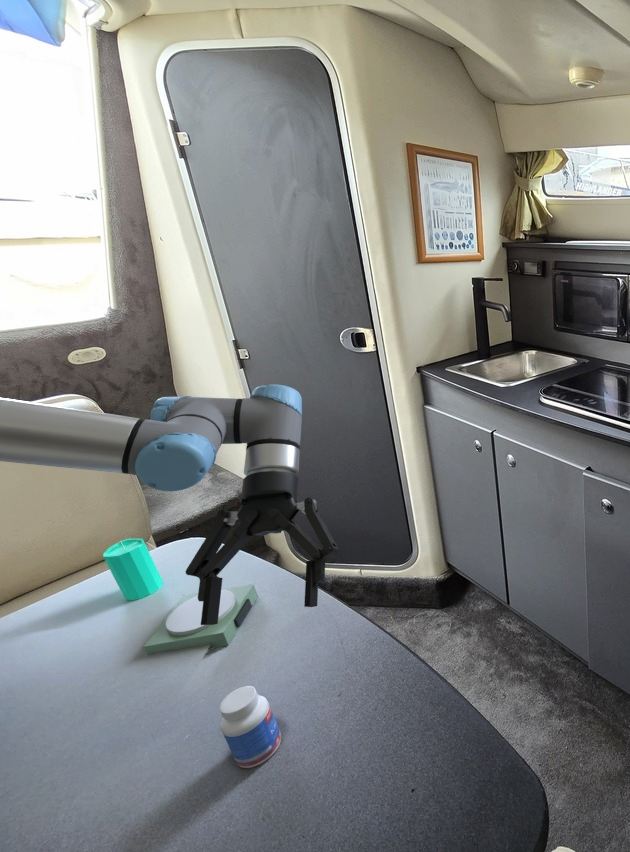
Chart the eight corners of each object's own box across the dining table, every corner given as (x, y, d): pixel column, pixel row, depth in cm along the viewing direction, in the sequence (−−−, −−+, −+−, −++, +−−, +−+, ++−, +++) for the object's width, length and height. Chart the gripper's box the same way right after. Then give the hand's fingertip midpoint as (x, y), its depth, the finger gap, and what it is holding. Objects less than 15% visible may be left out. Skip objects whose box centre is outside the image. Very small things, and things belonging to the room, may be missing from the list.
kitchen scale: (149, 659, 83) (141, 643, 82) (189, 607, 94) (182, 592, 93) (231, 645, 85) (224, 628, 84) (260, 595, 96) (254, 580, 95)
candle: (145, 600, 96) (120, 550, 92) (115, 600, 97) (89, 551, 92) (170, 578, 102) (148, 530, 97) (142, 579, 102) (119, 531, 98)
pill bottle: (287, 747, 68) (267, 698, 65) (242, 778, 65) (218, 728, 61) (275, 721, 72) (255, 673, 68) (232, 750, 68) (208, 701, 65)
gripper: (360, 471, 86) (359, 600, 78) (200, 492, 82) (181, 631, 74) (345, 458, 79) (342, 598, 71) (169, 481, 75) (145, 632, 67)
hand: (260, 615), depth 72 cm, fingers open, 13 cm apart
